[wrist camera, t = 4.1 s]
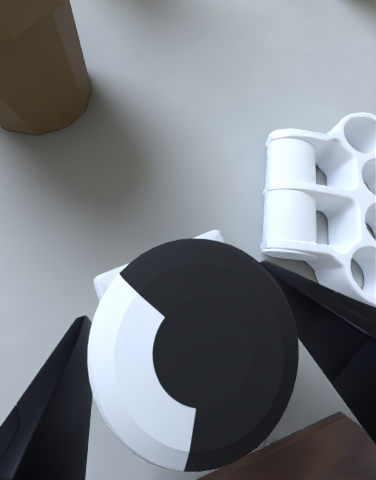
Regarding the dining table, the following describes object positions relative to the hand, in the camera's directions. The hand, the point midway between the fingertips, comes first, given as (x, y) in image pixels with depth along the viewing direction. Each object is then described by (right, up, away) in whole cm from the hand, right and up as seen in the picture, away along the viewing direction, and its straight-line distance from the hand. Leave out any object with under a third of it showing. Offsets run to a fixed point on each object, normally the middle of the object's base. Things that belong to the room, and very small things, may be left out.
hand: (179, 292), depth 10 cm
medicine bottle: (0, -3, +7) cm, 7 cm away
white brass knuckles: (+15, +6, +10) cm, 19 cm away
